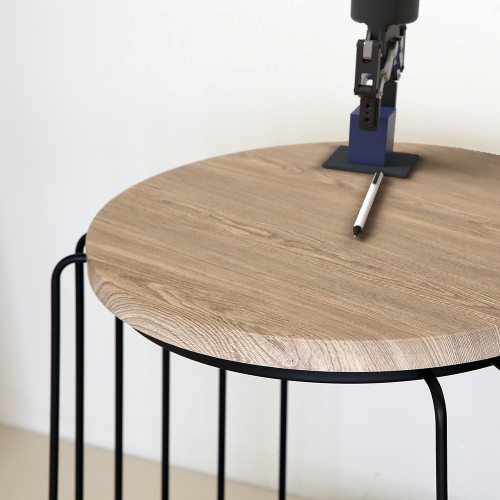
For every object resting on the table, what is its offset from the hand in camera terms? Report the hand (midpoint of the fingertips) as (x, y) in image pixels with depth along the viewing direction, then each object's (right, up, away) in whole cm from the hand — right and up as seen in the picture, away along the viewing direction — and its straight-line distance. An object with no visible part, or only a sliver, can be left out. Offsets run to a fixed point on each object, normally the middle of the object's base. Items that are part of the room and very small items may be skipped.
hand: (377, 120), depth 94 cm
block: (-1, -4, +2) cm, 5 cm away
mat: (0, -5, +2) cm, 5 cm away
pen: (-3, -11, -10) cm, 15 cm away
